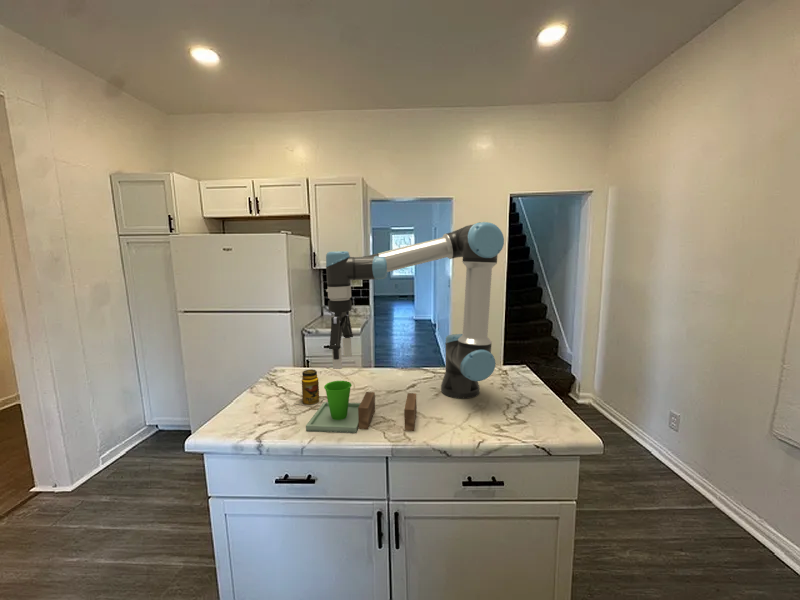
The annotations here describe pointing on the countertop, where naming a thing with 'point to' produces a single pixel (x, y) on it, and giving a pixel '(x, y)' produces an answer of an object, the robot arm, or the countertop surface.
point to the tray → (327, 424)
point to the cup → (338, 398)
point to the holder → (368, 410)
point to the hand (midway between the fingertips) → (342, 362)
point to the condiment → (310, 389)
